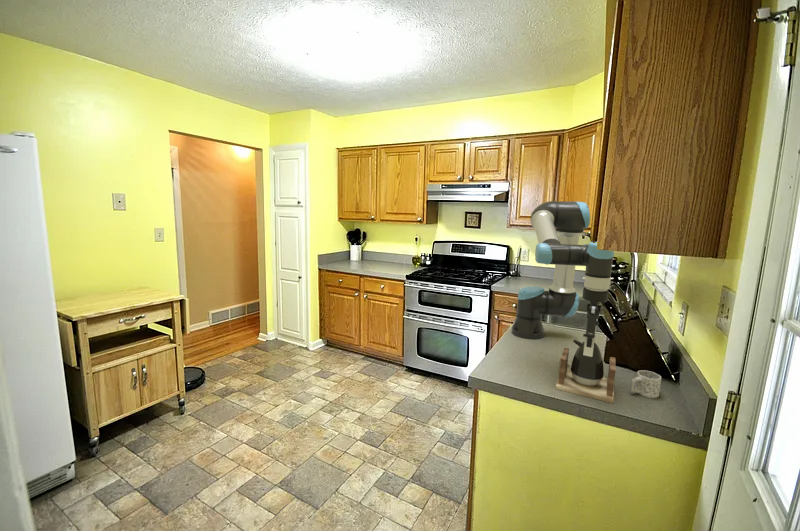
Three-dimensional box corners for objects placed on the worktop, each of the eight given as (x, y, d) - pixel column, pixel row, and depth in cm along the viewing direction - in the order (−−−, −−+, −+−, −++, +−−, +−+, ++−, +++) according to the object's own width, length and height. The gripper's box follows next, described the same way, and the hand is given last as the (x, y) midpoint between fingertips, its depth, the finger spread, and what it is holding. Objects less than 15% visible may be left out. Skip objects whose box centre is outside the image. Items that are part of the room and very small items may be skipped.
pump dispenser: (573, 372, 131) (577, 333, 129) (604, 381, 125) (609, 340, 122) (565, 382, 124) (569, 341, 121) (598, 393, 117) (604, 349, 115)
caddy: (561, 371, 135) (564, 345, 134) (613, 383, 127) (616, 355, 125) (555, 388, 122) (558, 360, 120) (613, 403, 113) (617, 373, 112)
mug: (646, 387, 124) (648, 369, 123) (663, 397, 118) (666, 378, 117) (621, 389, 122) (624, 371, 121) (638, 399, 116) (641, 380, 115)
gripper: (585, 280, 131) (579, 335, 135) (580, 294, 110) (573, 359, 114) (609, 283, 127) (602, 339, 131) (608, 298, 106) (600, 364, 110)
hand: (589, 348), depth 122 cm, fingers open, 13 cm apart
